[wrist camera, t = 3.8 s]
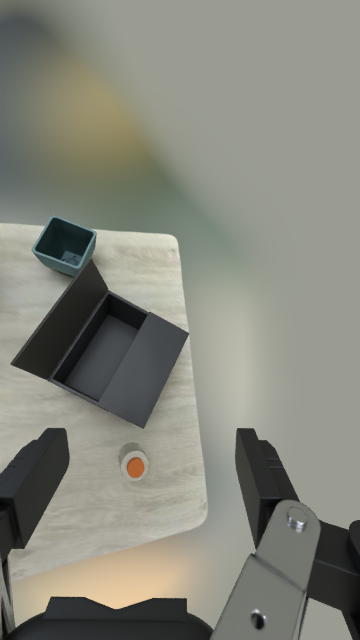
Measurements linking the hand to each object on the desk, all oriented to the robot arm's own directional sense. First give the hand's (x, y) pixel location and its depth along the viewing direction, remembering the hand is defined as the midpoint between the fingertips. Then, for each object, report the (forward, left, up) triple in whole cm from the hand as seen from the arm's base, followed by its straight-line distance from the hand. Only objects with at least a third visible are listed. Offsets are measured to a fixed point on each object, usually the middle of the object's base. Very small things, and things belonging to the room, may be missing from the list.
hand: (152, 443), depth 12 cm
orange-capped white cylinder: (-6, -6, -41) cm, 42 cm away
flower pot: (+22, +24, -42) cm, 53 cm away
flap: (+8, +13, -25) cm, 29 cm away
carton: (+8, +4, -41) cm, 42 cm away
